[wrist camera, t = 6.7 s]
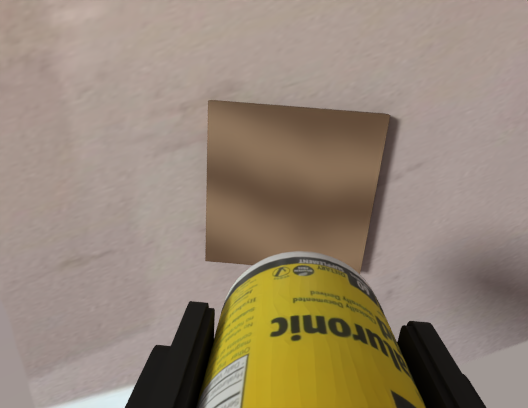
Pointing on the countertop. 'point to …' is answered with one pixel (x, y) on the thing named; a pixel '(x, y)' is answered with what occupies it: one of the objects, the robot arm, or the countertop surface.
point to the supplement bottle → (305, 341)
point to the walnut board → (290, 181)
